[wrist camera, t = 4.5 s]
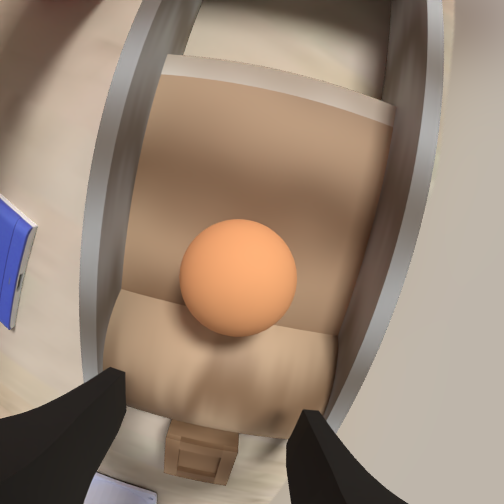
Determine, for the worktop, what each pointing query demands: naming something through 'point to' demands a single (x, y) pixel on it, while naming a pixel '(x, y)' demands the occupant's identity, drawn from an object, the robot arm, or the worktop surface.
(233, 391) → the lane
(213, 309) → the ball
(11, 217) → the hard drive
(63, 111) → the worktop surface
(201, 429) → the brown wooden crate
